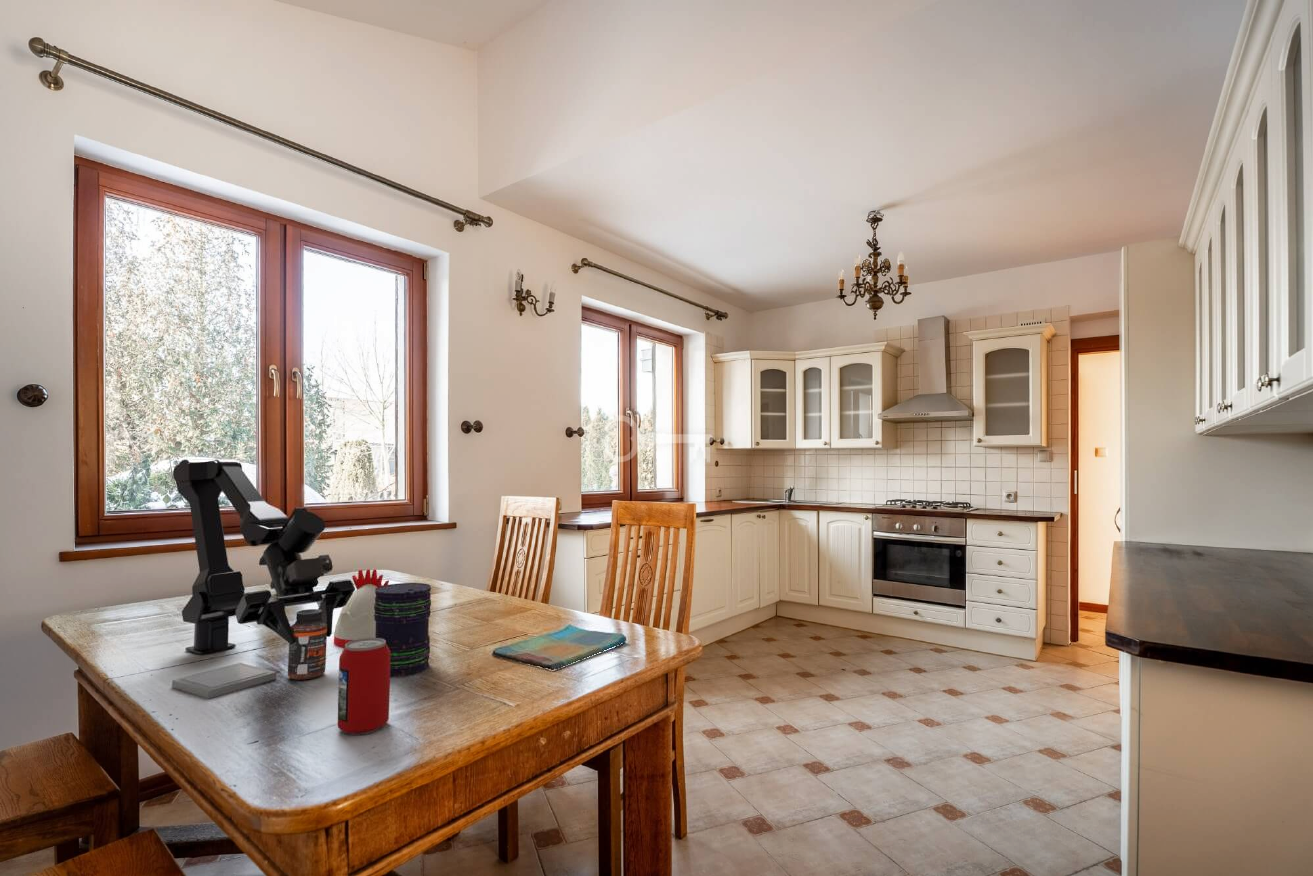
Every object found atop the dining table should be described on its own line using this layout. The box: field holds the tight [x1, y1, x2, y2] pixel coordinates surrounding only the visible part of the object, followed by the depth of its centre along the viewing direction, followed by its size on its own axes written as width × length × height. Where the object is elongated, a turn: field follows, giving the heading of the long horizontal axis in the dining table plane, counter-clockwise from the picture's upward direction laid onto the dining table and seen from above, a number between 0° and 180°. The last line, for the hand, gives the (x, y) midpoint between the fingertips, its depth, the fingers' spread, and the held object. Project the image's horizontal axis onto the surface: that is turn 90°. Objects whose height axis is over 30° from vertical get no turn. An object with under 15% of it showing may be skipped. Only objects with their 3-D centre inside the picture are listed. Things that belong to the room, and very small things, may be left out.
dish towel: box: [491, 624, 627, 670], centre depth 132 cm, size 17×23×2 cm
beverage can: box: [337, 638, 391, 735], centre depth 92 cm, size 7×7×12 cm
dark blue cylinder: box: [374, 582, 432, 679], centre depth 119 cm, size 10×10×15 cm
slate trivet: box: [171, 662, 277, 700], centre depth 110 cm, size 11×11×1 cm
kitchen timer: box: [333, 569, 390, 648], centre depth 139 cm, size 14×14×15 cm
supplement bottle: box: [287, 608, 328, 681], centre depth 114 cm, size 6×6×11 cm
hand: (311, 639), depth 114 cm, fingers closed on supplement bottle, 6 cm apart
